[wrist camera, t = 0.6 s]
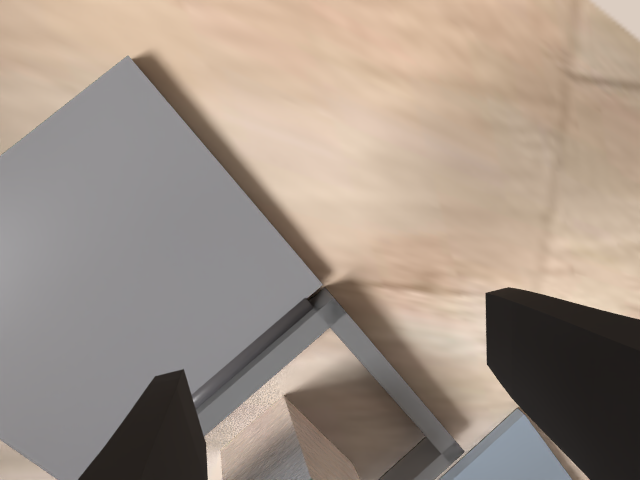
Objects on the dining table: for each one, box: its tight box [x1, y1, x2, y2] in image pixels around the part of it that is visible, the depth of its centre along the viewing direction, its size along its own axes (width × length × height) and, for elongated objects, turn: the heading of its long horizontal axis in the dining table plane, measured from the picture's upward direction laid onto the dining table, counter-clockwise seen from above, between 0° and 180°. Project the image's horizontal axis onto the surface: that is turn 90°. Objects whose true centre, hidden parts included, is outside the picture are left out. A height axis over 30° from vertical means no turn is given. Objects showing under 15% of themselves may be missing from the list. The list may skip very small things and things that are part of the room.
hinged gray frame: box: [0, 56, 464, 480], centre depth 20 cm, size 14×24×2 cm, turn 38°
